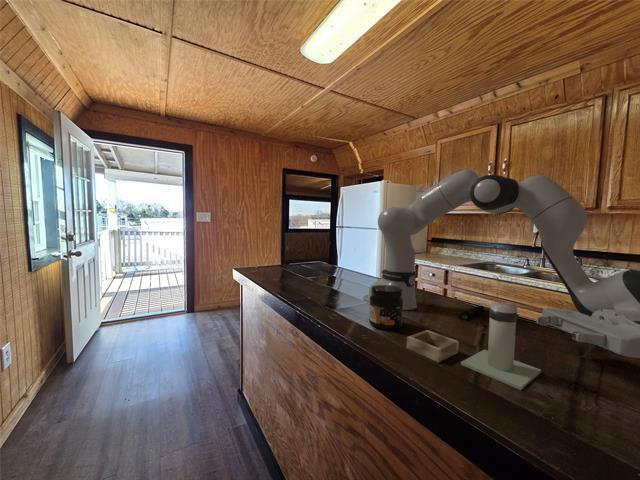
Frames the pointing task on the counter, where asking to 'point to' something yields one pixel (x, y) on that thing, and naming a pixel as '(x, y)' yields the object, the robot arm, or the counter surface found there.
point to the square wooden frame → (420, 345)
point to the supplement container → (386, 307)
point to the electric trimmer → (471, 313)
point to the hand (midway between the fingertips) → (555, 328)
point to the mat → (514, 378)
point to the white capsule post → (502, 336)
